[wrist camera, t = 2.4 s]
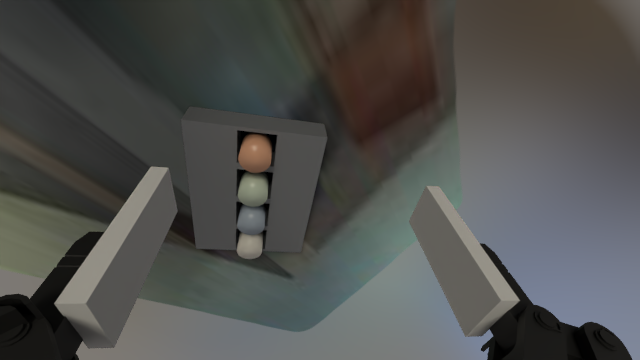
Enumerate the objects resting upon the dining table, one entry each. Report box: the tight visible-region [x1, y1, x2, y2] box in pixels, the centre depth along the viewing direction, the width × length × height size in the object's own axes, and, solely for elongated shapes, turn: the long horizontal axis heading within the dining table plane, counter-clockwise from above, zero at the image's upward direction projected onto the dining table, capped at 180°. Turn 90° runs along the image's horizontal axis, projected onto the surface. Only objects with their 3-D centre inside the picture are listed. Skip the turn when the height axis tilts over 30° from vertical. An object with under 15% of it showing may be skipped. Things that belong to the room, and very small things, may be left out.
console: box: [181, 106, 327, 252], centre depth 43 cm, size 18×24×4 cm
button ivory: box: [237, 231, 263, 259], centre depth 46 cm, size 4×4×4 cm
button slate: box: [237, 204, 266, 235], centre depth 43 cm, size 4×4×4 cm
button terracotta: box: [238, 132, 272, 173], centre depth 36 cm, size 4×4×4 cm
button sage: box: [238, 171, 269, 207], centre depth 39 cm, size 4×4×4 cm
